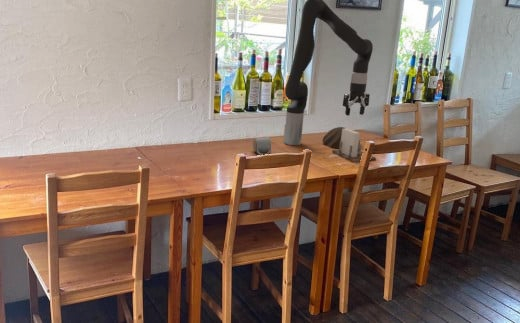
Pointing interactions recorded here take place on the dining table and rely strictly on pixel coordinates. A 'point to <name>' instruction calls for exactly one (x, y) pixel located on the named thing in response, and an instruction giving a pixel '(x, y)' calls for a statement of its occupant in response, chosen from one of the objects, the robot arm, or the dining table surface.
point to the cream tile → (349, 141)
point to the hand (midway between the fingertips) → (354, 114)
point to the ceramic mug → (262, 145)
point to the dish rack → (348, 157)
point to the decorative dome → (333, 138)
